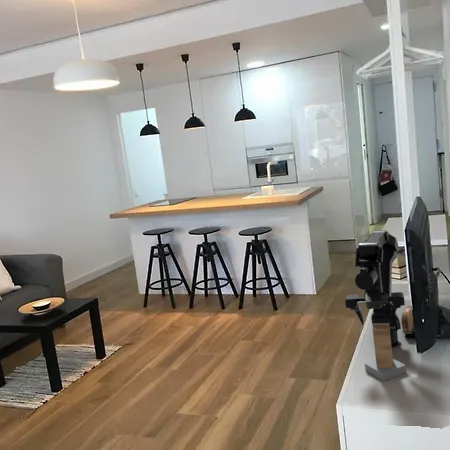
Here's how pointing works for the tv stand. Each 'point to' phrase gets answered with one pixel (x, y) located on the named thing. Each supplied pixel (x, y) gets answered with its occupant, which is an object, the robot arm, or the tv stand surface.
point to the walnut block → (382, 345)
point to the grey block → (385, 370)
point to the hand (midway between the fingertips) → (377, 324)
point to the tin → (407, 320)
